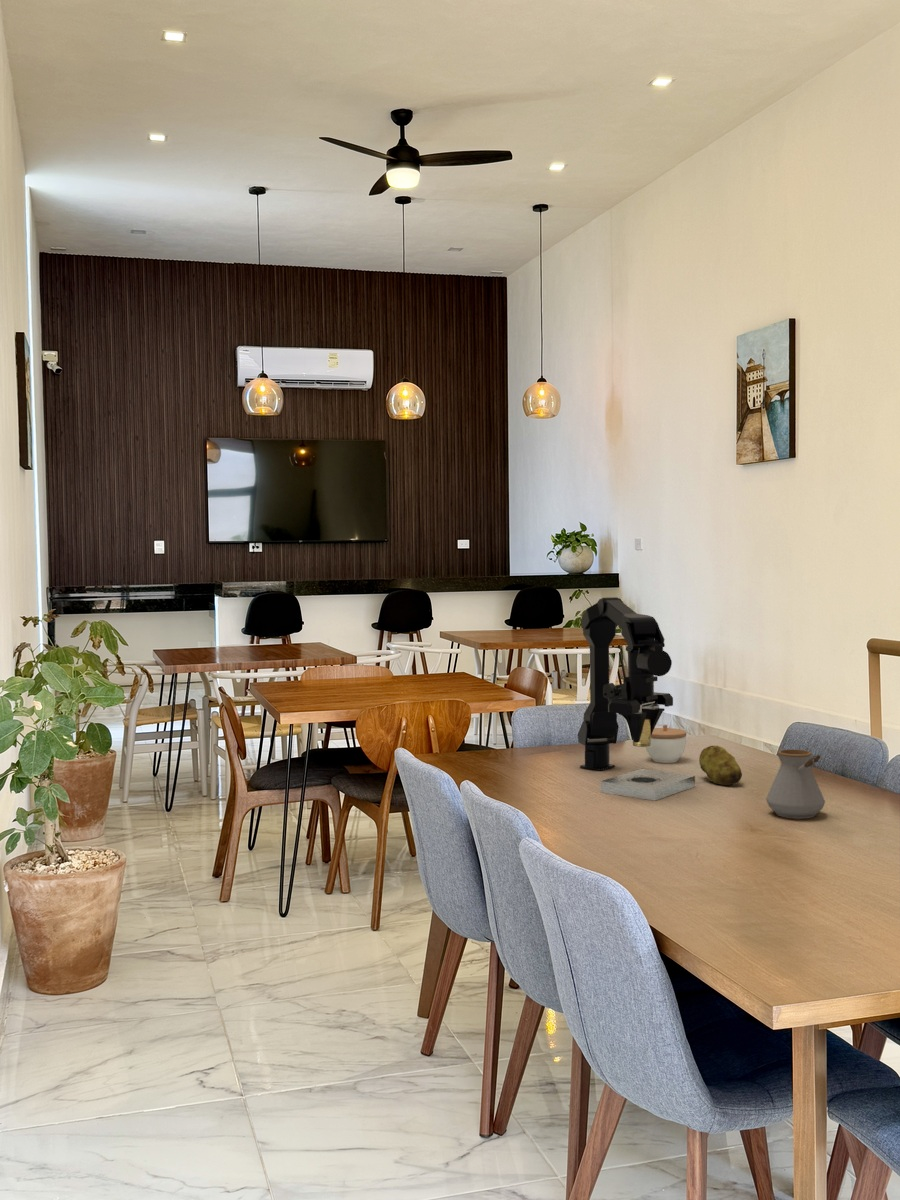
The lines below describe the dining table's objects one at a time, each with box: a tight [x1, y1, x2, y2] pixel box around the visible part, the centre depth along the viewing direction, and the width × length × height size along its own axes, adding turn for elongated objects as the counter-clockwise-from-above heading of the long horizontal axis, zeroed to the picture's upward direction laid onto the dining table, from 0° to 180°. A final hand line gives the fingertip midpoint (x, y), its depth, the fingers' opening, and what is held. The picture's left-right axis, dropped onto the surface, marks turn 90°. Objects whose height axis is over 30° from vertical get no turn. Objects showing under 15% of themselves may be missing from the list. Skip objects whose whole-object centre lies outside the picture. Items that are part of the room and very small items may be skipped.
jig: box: [599, 768, 696, 801], centre depth 247 cm, size 18×14×2 cm
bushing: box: [632, 718, 651, 748], centre depth 246 cm, size 4×4×6 cm
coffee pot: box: [765, 749, 826, 820], centre depth 217 cm, size 21×12×15 cm, turn 179°
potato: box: [698, 745, 743, 786], centre depth 254 cm, size 8×13×8 cm, turn 178°
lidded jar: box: [645, 724, 687, 764], centre depth 281 cm, size 11×11×9 cm
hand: (641, 740), depth 246 cm, fingers closed on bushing, 4 cm apart
